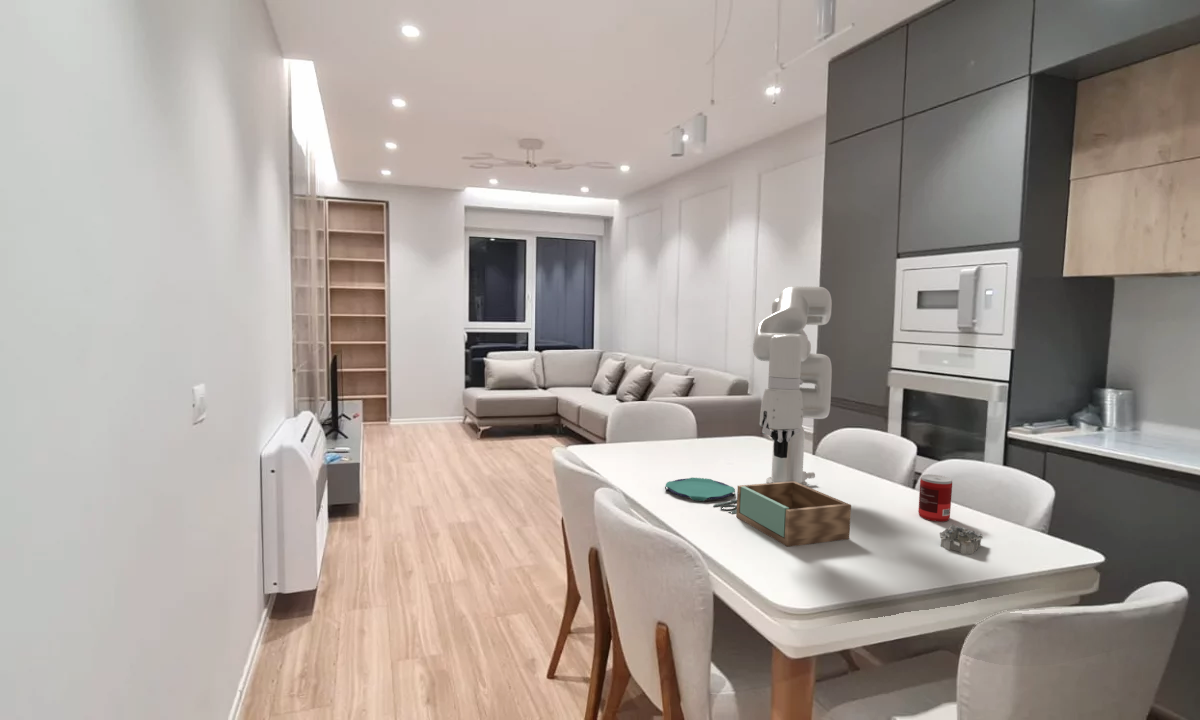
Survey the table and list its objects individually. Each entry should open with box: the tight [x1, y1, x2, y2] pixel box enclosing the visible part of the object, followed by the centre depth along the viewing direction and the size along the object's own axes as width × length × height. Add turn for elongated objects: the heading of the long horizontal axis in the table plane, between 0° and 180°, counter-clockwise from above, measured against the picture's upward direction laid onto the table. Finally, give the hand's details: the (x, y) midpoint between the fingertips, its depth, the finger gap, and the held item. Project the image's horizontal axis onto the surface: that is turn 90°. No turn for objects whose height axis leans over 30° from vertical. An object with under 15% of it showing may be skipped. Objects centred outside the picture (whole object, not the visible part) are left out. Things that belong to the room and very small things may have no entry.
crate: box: [735, 481, 852, 547], centre depth 157 cm, size 18×22×8 cm
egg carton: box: [939, 524, 984, 555], centre depth 147 cm, size 11×8×4 cm
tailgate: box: [740, 486, 789, 537], centre depth 154 cm, size 1×19×7 cm, turn 20°
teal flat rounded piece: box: [664, 477, 737, 515], centre depth 183 cm, size 20×30×2 cm, turn 33°
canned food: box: [917, 473, 953, 523], centre depth 168 cm, size 8×8×11 cm
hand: (780, 456), depth 155 cm, fingers closed
